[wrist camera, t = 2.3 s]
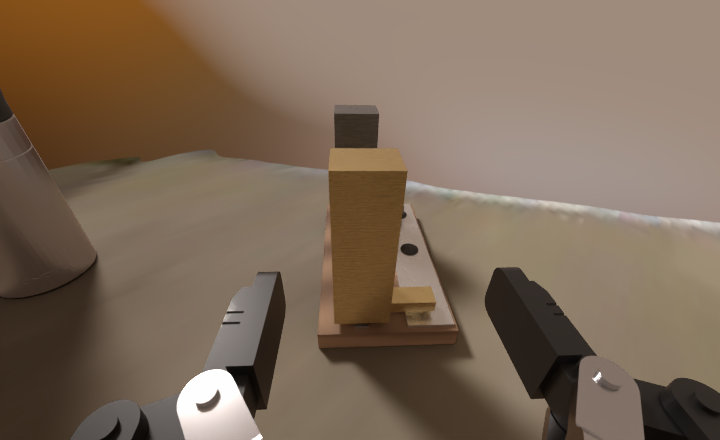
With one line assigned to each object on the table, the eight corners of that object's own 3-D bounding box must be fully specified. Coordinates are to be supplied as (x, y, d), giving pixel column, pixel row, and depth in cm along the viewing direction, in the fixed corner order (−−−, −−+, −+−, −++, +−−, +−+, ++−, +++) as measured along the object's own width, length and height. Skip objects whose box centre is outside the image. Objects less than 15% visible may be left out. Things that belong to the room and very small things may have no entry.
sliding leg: (437, 322, 28) (476, 170, 19) (334, 325, 27) (328, 170, 19) (427, 290, 31) (456, 148, 23) (335, 292, 31) (330, 148, 22)
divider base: (454, 343, 29) (506, 185, 19) (318, 348, 28) (304, 186, 19) (409, 214, 48) (424, 103, 39) (328, 215, 47) (323, 102, 38)
